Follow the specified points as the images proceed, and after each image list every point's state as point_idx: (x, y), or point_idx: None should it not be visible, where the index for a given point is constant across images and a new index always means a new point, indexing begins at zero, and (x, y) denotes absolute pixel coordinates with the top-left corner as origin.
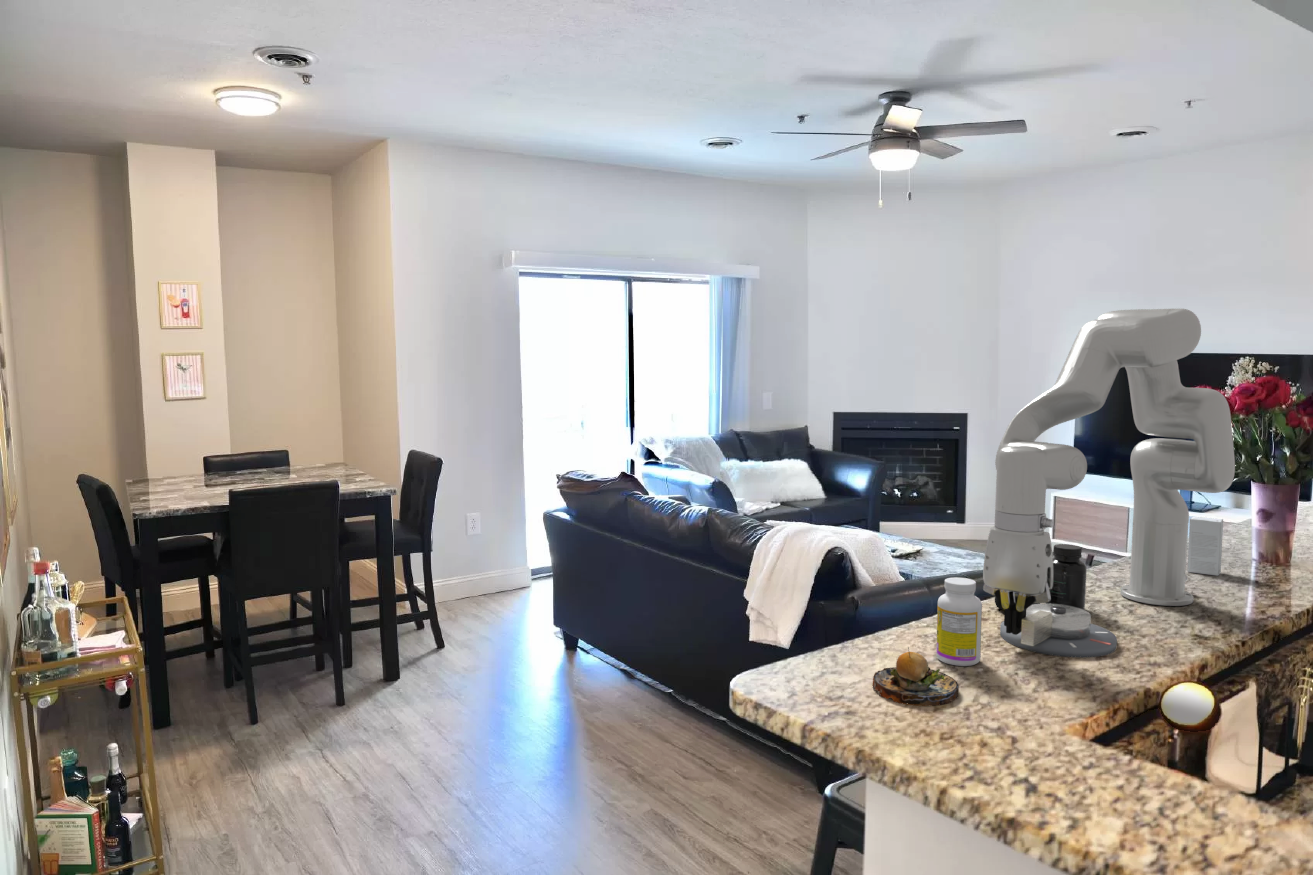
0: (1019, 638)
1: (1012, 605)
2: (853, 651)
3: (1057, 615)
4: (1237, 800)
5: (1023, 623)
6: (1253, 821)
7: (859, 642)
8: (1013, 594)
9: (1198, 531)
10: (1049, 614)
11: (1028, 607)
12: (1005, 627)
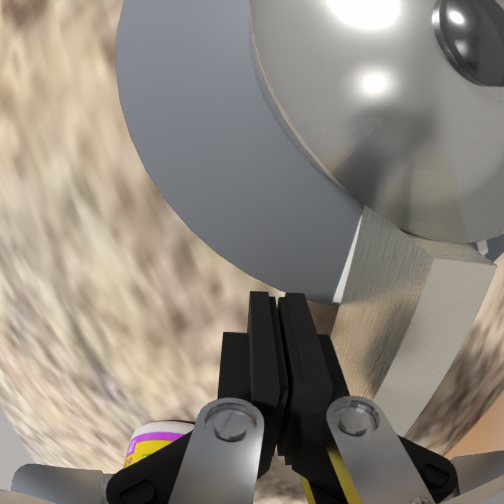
0: (286, 286)
1: (268, 465)
2: (45, 452)
3: (490, 135)
4: None
5: None
6: None
7: (11, 418)
8: (252, 497)
9: None
10: (478, 309)
11: (371, 409)
12: (162, 148)
